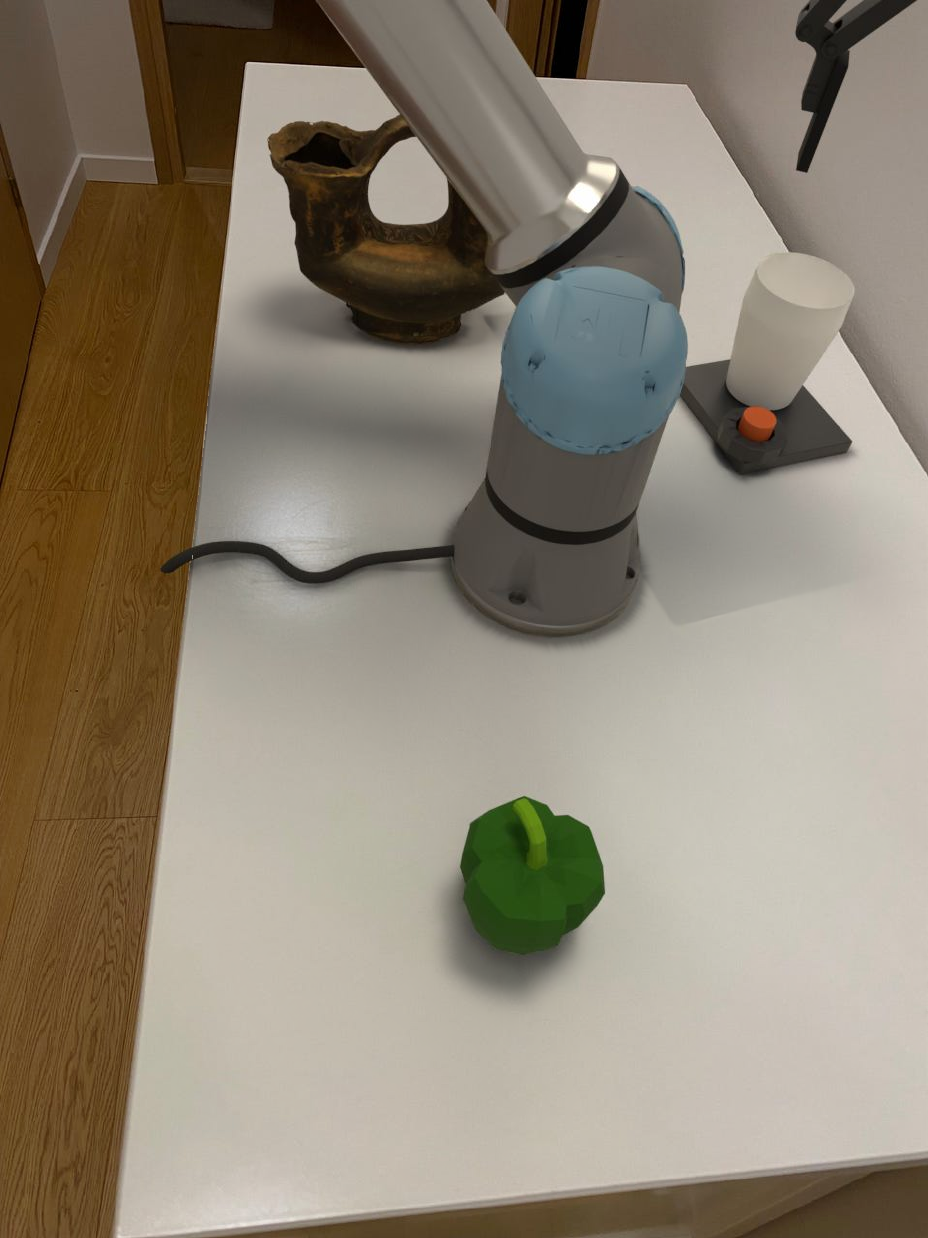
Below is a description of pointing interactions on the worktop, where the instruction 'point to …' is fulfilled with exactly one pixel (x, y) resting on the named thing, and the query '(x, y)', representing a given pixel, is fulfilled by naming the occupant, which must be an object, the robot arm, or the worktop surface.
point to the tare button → (757, 424)
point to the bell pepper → (529, 876)
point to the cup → (785, 327)
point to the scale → (792, 439)
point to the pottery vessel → (378, 236)
